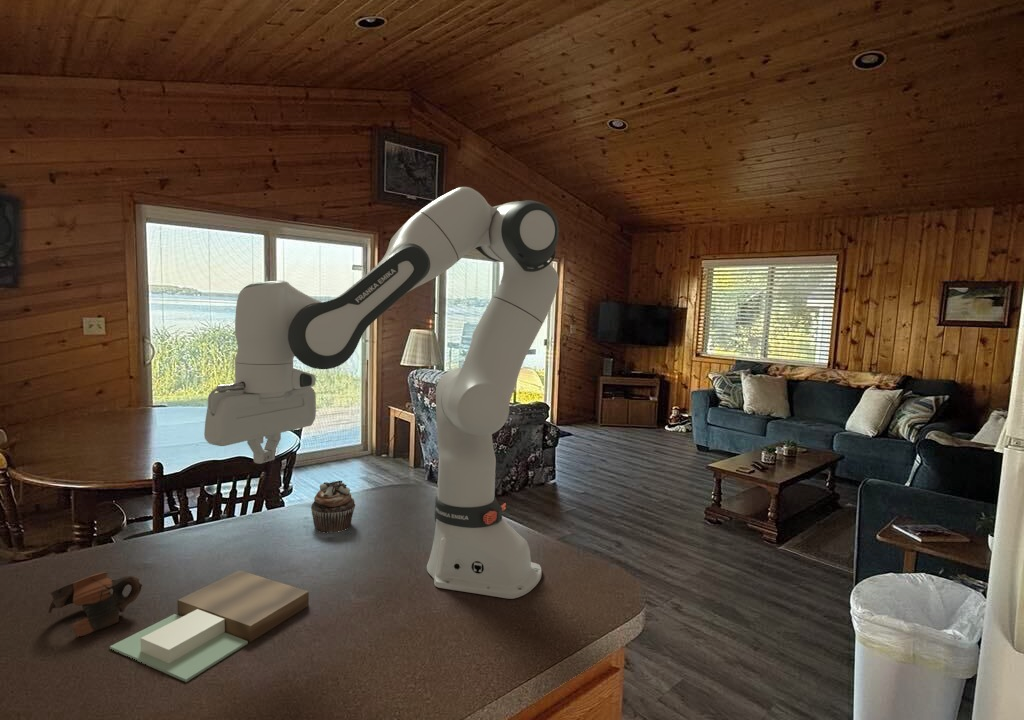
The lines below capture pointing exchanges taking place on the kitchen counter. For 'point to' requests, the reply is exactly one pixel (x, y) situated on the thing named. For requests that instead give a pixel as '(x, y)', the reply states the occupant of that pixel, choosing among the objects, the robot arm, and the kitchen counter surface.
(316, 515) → the cupcake
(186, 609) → the board
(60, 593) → the pottery mug
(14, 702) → the kitchen counter surface
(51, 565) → the kitchen counter surface
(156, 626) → the mat
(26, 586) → the kitchen counter surface
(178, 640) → the cream rectangular block
